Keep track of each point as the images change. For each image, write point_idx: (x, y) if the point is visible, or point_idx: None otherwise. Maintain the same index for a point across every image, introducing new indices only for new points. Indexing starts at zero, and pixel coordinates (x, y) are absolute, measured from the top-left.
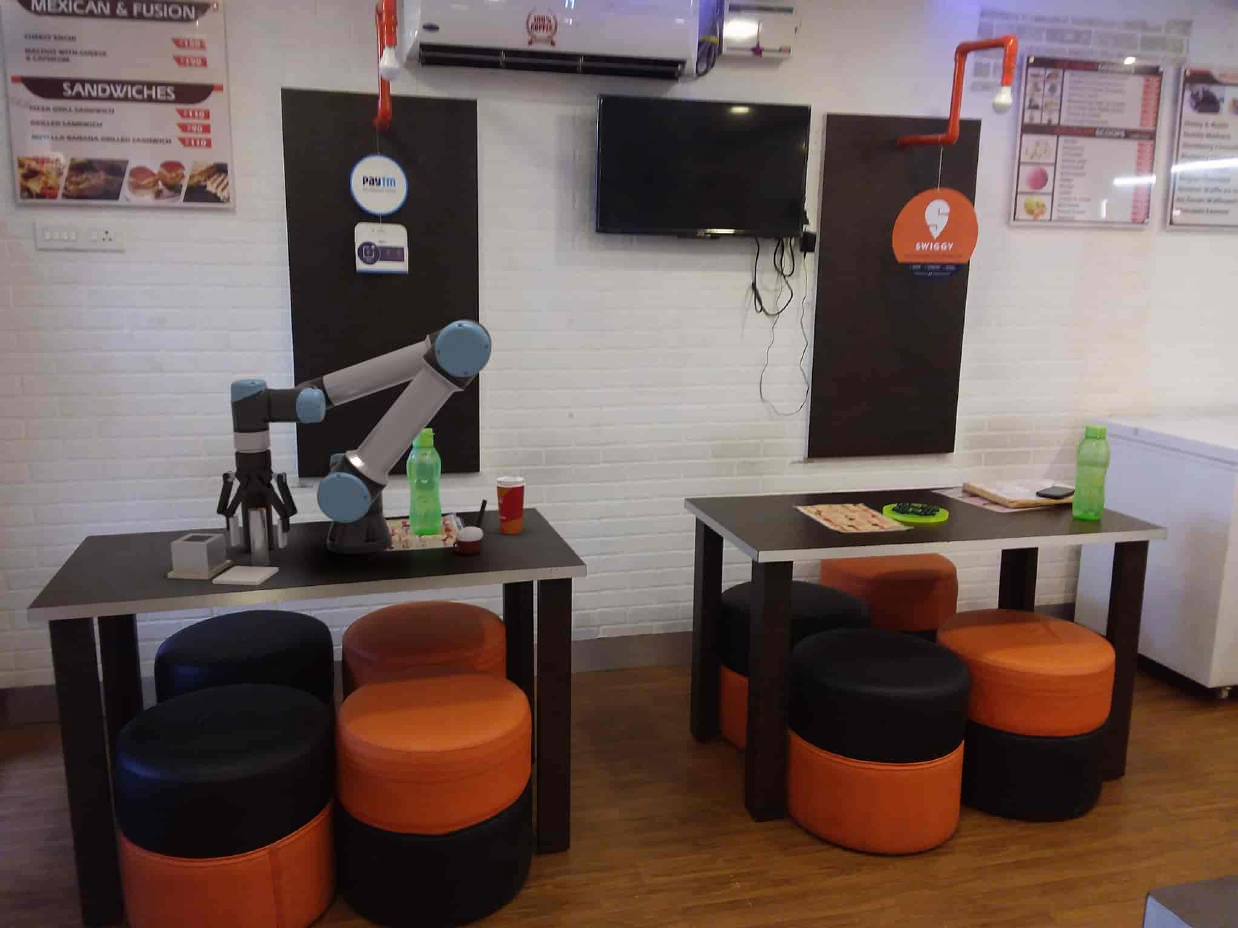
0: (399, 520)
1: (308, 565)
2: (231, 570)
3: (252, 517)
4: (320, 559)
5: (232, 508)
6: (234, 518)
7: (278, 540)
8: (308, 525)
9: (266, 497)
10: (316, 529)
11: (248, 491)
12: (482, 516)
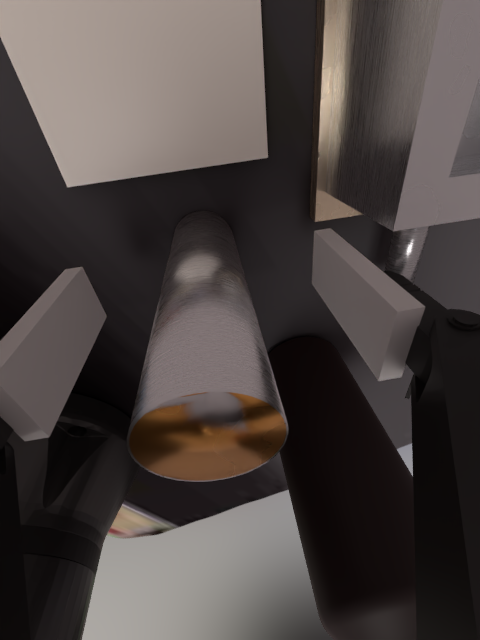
0: (132, 533)
1: (28, 279)
2: (245, 73)
3: (206, 340)
4: None
5: (455, 381)
6: (384, 332)
7: (66, 284)
8: (276, 484)
9: (313, 560)
10: (246, 476)
11: None
12: None
